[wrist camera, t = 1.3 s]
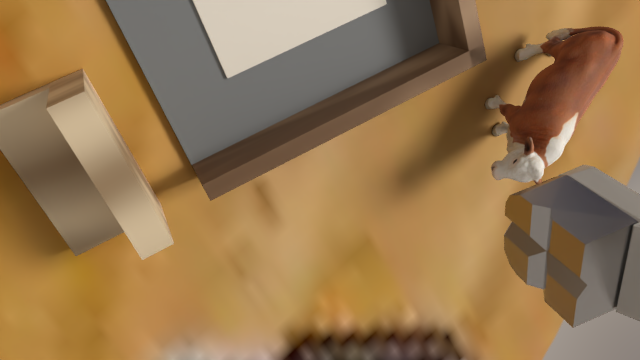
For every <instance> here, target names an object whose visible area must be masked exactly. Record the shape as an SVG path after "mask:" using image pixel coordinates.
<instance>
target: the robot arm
mask: <svg viewBox="0 0 640 360" xmlns="http://www.w3.org/2000/svg"><path fill="white" fill-rule="evenodd" d="M505 216H506V217H508V218H509V219H510V220H511V221H512V223H511V224H510V226H509V228H508V229H507V231H506V233H505V235H504V250H505V253H506V256H507V258H508V261H509V264H510V265H511V267H512V268H513V270H514V271H515V273H516V274H517V275H518V276H519V277H520V278H521V279H522V280H523V281H524V282H525V283H526V284H527V285H531V286H534V287H537V288H541V289H543V292H544V300H545V302H546V303H547V304H548V305H549V306H550V307H551V308H552V309H553V310H554V311H556V312H557V313H558V314H559V315H560V316H561V317H562V318H563V319H564V320H565V321H566V322H567V323H569V325H571V326H572V327H573V328H574V327H576V326H578V325H580V324H583V323H585V322H587V321H590V320H592V319H594V318H596V317H598V316H601V315H603V314H605V313H608V312H610V311H612V310H614V309H616V312H618V313H621V314H623V315H625V316H628V317H630V318H633V319H635V320H638V321H640V194H638V193H637V192H635V191H633V190H632V189H630V188H628V187H627V186H625V185H623V184H622V183H620V182H618V181H617V180H615V179H613V178H612V177H610V176H608V175H607V174H605V173H603V172H602V171H600V170H598V169H597V168H595V167H593V166H588V165H582V166H580V167H577V168H575V169H572V170H570V171H567V172H565V173H563V174H560V175H559V176H557V177H553V178H551V179H548V180H546V181H544V182H541V183H539V184H536V185H534V186H531V187H529V188H527V189H524V190H522V191H519V192H517V193H514V194H512V195H510V196H509V198H508V200H507V201H506V205H505Z"/></svg>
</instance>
